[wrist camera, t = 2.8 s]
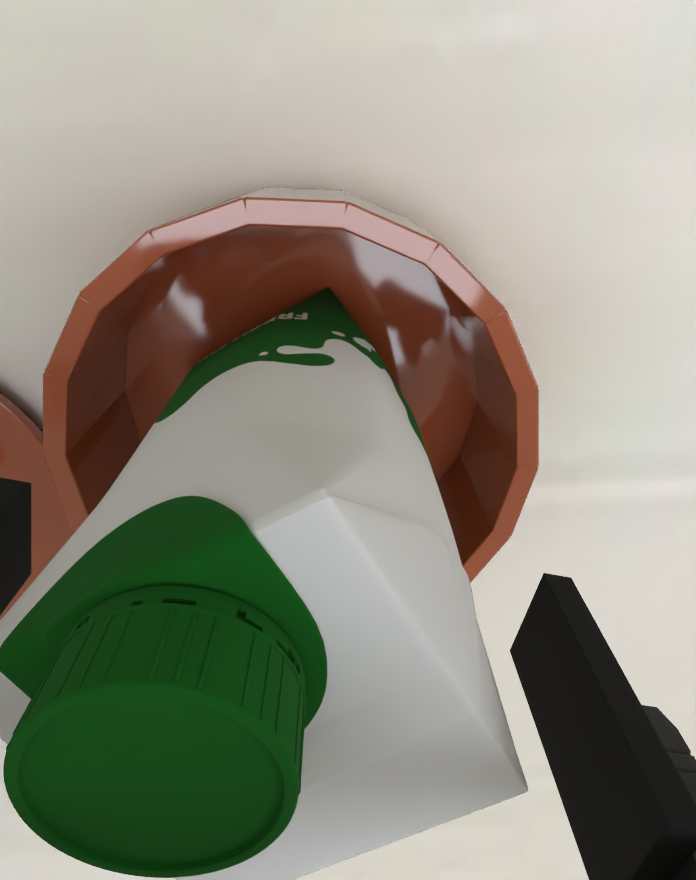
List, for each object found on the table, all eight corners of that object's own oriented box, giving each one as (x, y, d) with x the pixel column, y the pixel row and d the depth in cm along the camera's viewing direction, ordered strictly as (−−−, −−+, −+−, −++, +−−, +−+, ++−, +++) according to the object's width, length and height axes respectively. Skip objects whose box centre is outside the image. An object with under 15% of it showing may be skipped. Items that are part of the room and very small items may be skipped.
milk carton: (336, 254, 25) (348, 525, 6) (434, 430, 28) (622, 929, 10) (162, 358, 26) (-217, 804, 8) (274, 512, 30) (183, 1067, 12)
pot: (100, 521, 30) (40, 614, 24) (122, 138, 23) (44, 130, 17) (432, 576, 32) (456, 676, 26) (547, 238, 25) (619, 265, 19)
